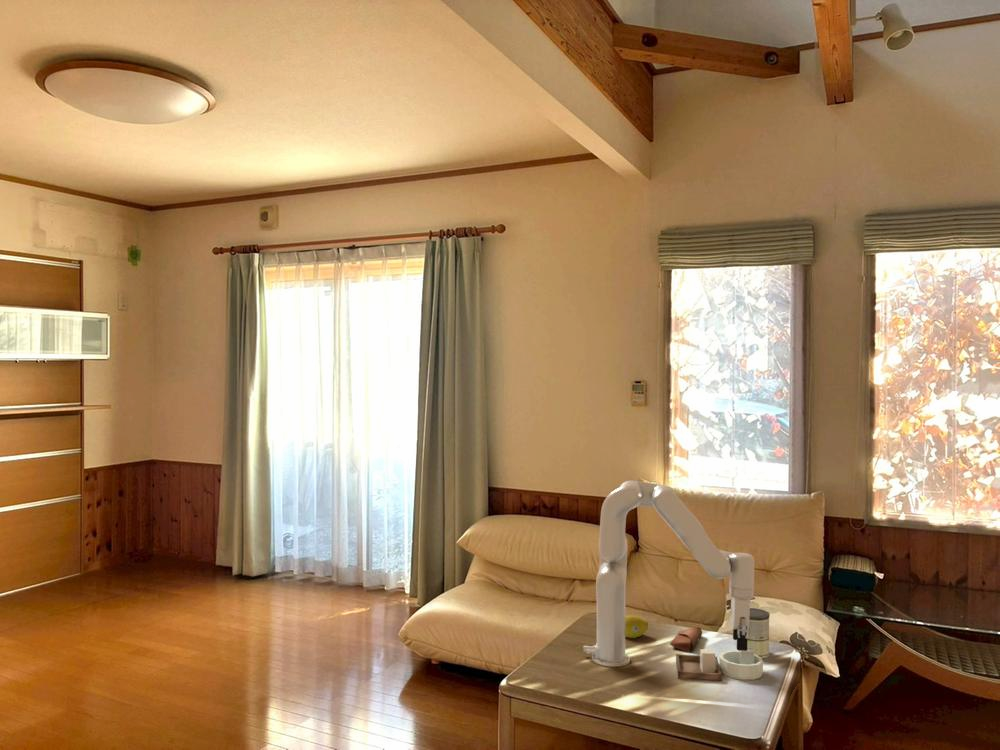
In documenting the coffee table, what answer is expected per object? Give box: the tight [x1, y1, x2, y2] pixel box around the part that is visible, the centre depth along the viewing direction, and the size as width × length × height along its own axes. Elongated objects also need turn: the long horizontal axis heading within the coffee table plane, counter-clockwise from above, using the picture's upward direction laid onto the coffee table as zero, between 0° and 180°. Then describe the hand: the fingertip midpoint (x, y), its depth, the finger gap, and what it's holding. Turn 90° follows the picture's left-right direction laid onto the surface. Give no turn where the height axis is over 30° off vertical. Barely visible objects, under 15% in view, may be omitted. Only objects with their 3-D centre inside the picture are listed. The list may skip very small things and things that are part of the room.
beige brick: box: [699, 648, 716, 672], centre depth 243 cm, size 4×4×6 cm
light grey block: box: [740, 648, 754, 665], centre depth 244 cm, size 4×4×6 cm
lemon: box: [625, 615, 649, 639], centre depth 275 cm, size 11×8×8 cm
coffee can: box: [737, 607, 770, 659], centre depth 259 cm, size 10×10×14 cm
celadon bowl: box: [718, 650, 764, 681], centre depth 242 cm, size 13×13×4 cm
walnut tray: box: [675, 653, 723, 683], centre depth 243 cm, size 13×16×2 cm
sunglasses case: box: [669, 626, 703, 653], centre depth 269 cm, size 18×7×7 cm
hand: (739, 644), depth 244 cm, fingers open, 9 cm apart
